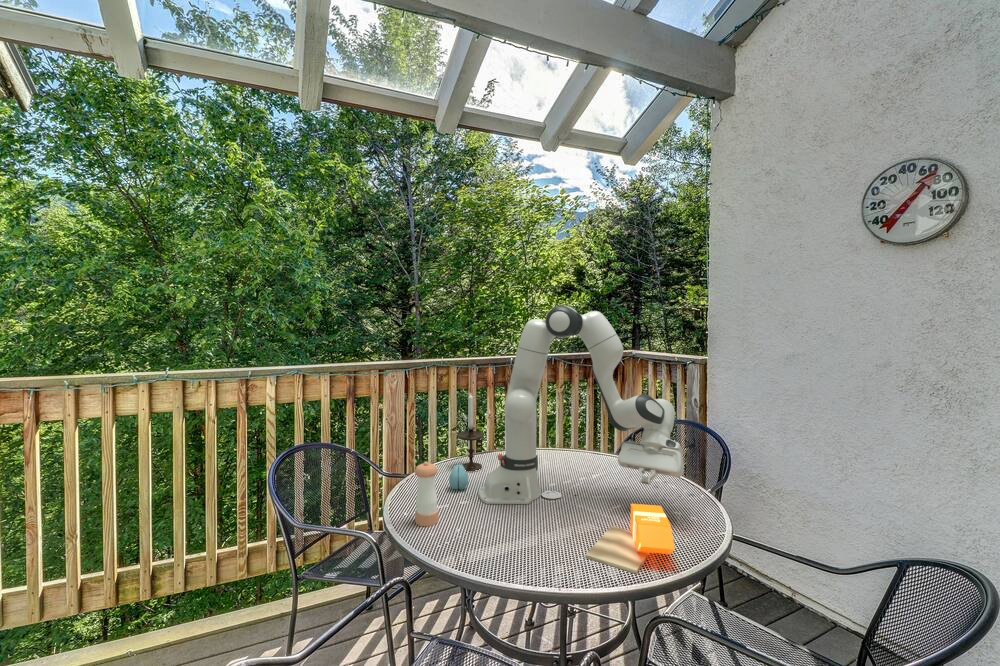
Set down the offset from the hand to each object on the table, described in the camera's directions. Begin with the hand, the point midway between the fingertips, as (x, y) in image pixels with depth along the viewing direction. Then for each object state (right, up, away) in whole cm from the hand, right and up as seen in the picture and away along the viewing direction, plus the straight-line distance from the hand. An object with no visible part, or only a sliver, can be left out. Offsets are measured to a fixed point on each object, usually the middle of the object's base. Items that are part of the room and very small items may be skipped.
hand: (644, 483), depth 147 cm
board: (-11, -13, -16) cm, 23 cm away
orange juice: (-2, -8, -6) cm, 10 cm away
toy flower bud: (-61, -11, +30) cm, 69 cm away
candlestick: (-58, -10, +50) cm, 77 cm away
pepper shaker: (-69, -13, +2) cm, 70 cm away
